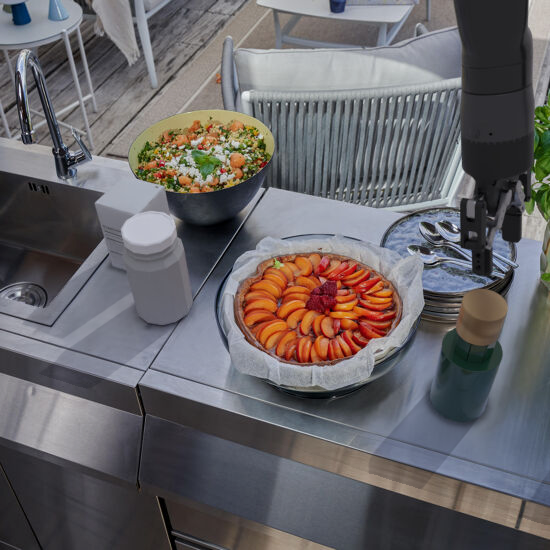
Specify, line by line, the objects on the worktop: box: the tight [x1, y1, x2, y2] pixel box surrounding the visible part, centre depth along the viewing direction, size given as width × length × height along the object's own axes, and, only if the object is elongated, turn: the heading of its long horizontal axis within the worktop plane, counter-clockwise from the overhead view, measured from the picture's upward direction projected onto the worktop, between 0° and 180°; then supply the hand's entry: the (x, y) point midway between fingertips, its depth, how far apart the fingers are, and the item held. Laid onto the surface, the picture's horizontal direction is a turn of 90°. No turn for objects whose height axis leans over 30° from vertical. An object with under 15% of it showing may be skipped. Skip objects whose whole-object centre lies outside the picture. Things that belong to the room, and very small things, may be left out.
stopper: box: [455, 288, 509, 346], centre depth 83 cm, size 6×6×9 cm
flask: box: [429, 327, 504, 423], centre depth 89 cm, size 8×8×16 cm
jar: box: [121, 211, 194, 326], centre depth 104 cm, size 10×10×18 cm
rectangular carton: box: [94, 175, 171, 271], centre depth 114 cm, size 9×9×15 cm
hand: (497, 256), depth 77 cm, fingers open, 8 cm apart
